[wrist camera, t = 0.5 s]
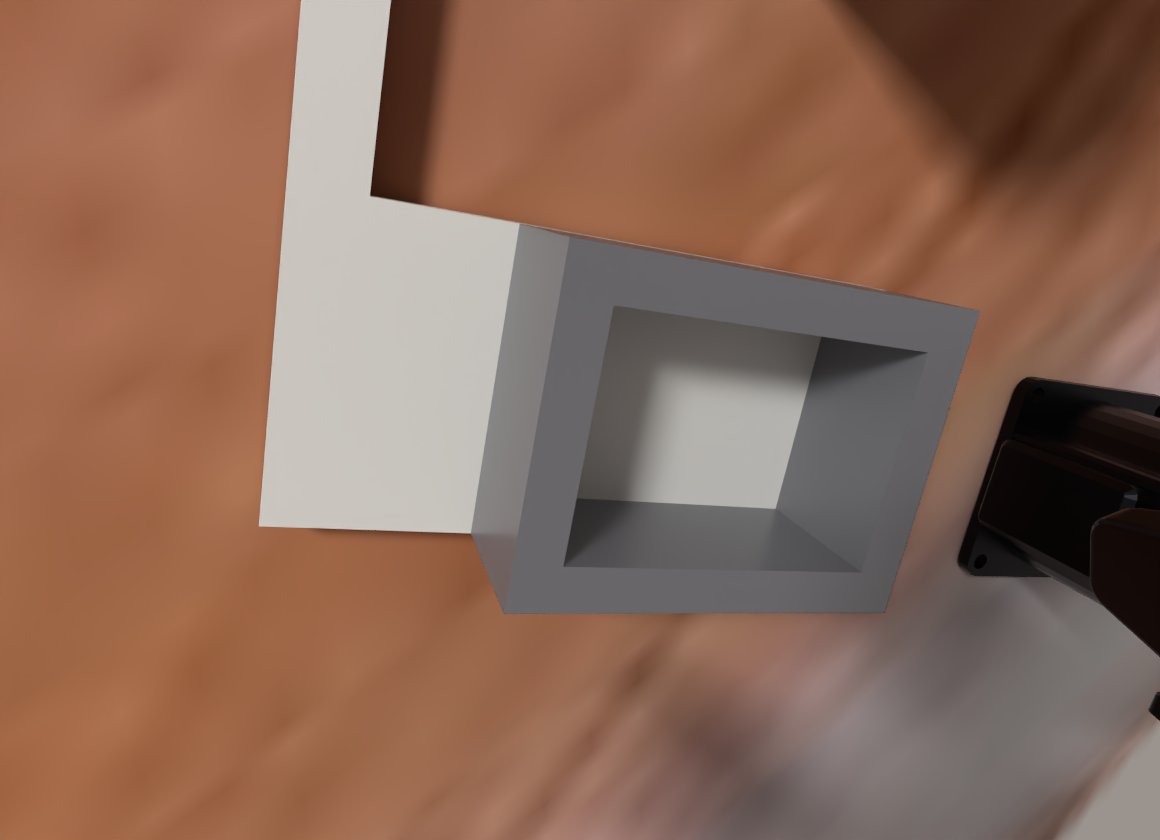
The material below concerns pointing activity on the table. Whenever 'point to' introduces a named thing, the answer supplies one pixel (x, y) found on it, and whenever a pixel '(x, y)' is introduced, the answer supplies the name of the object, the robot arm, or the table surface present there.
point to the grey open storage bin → (583, 389)
